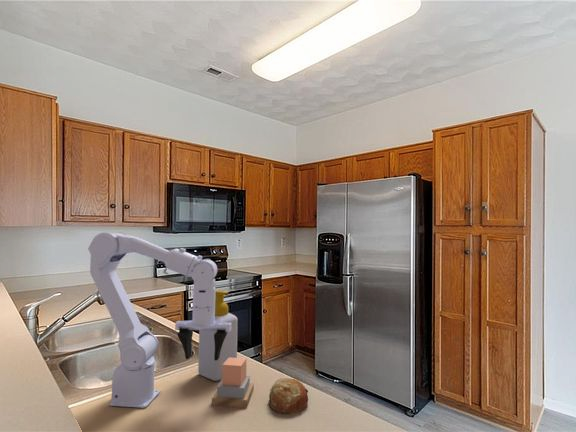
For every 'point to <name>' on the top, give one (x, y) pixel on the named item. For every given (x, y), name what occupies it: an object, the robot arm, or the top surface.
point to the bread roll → (288, 396)
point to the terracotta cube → (234, 371)
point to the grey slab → (233, 389)
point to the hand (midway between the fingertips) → (202, 358)
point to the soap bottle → (207, 344)
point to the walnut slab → (233, 399)
